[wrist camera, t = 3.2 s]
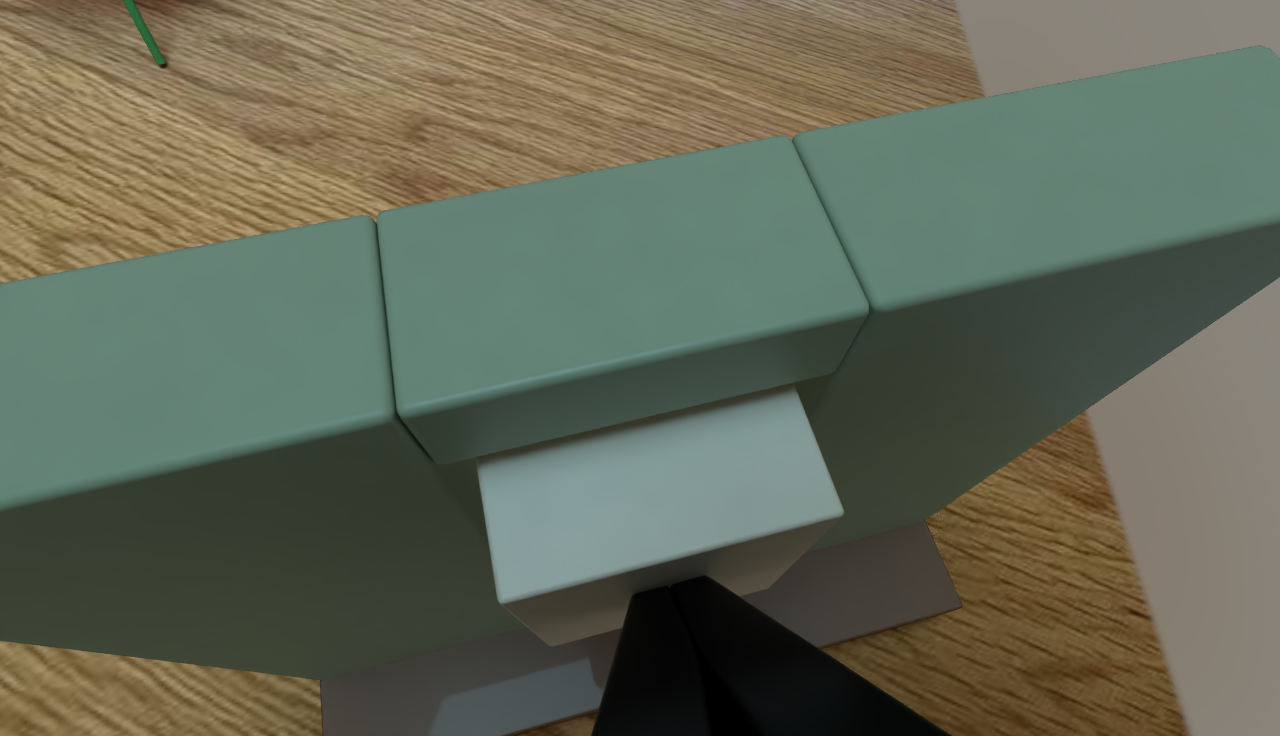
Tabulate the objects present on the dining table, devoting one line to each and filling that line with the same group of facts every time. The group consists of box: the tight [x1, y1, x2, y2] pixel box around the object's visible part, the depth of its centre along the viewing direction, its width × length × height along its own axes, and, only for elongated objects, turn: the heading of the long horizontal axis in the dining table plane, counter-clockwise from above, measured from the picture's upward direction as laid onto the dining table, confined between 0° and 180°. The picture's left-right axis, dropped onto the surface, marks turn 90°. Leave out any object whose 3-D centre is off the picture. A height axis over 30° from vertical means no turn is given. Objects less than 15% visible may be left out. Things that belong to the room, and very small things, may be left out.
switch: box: [475, 383, 844, 647], centre depth 8 cm, size 2×3×4 cm, turn 104°
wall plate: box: [0, 45, 1280, 736], centre depth 12 cm, size 8×14×13 cm, turn 104°
